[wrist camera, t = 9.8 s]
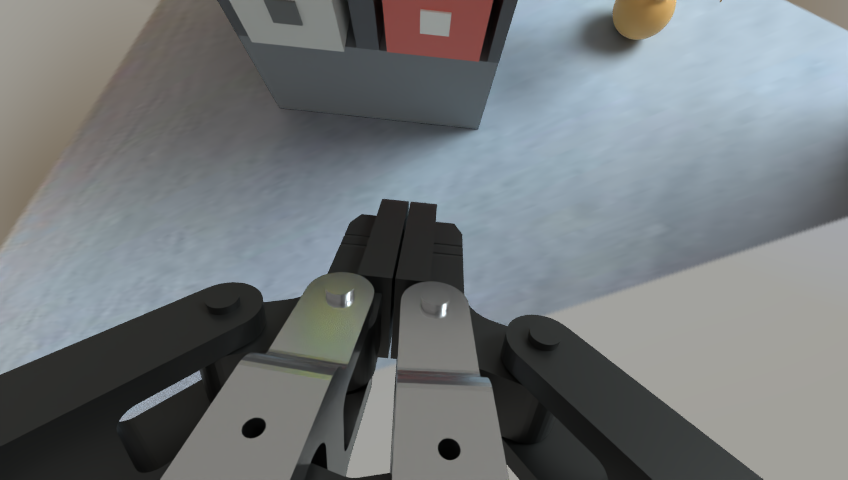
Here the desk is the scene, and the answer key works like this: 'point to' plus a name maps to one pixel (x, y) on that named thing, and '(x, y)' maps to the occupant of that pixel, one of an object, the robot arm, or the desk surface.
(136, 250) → the desk surface
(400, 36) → the red button
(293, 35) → the grey button
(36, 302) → the desk surface
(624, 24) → the figurine
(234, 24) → the grey drawer cabinet
